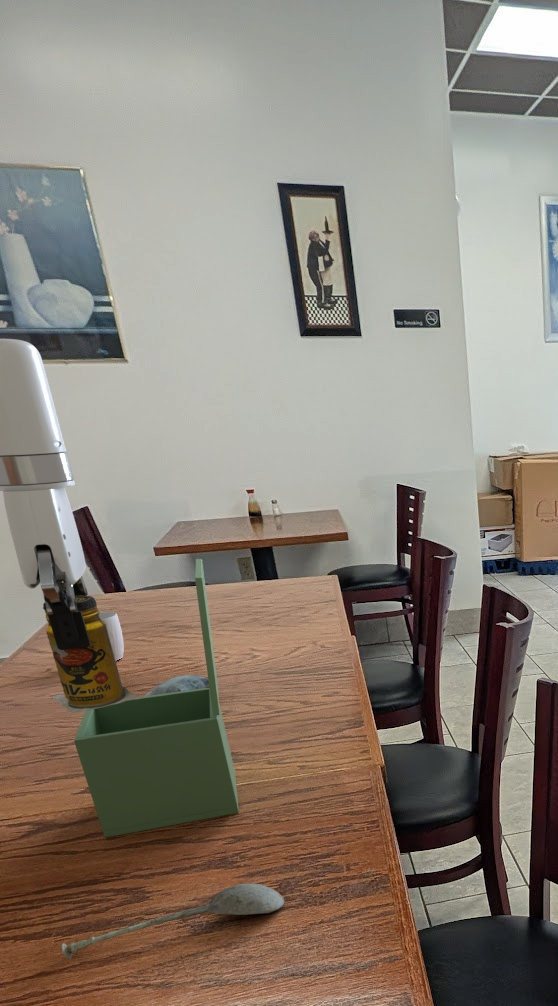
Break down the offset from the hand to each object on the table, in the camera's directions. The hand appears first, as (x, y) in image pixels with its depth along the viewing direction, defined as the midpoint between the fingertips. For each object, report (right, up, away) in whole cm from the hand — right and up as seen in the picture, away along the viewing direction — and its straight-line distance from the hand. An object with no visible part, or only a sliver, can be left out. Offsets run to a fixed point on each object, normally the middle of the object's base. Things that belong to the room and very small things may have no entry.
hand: (79, 639), depth 94 cm
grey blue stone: (-17, -1, +62) cm, 65 cm away
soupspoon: (+14, -32, -5) cm, 36 cm away
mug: (-48, +13, +92) cm, 104 cm away
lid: (+8, +3, +16) cm, 18 cm away
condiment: (0, -7, +4) cm, 8 cm away
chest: (0, -19, +23) cm, 30 cm away
